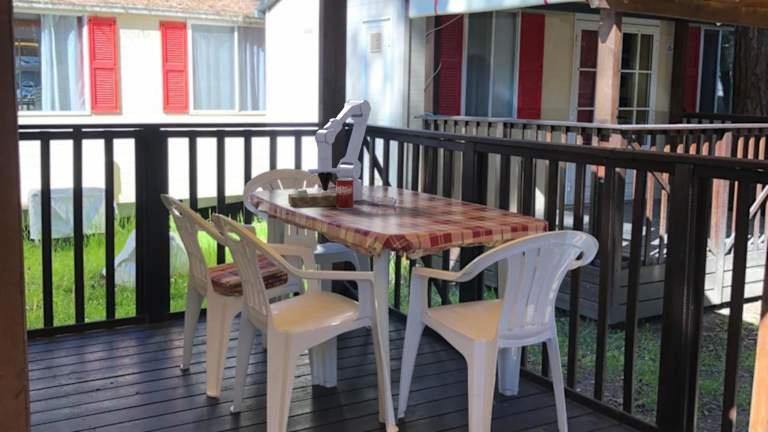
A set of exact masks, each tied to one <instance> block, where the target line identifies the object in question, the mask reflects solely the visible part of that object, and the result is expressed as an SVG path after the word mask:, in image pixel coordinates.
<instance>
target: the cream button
mask: <svg viewBox="0 0 768 432" xmlns="http://www.w3.org/2000/svg"><path fill="white" fill-rule="evenodd" d="M318 193H319V195H320V196H326V195H331V193H332V192H331V190H330V189H328V190H327V191H323V189H321V190H320V191H318Z"/></svg>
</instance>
